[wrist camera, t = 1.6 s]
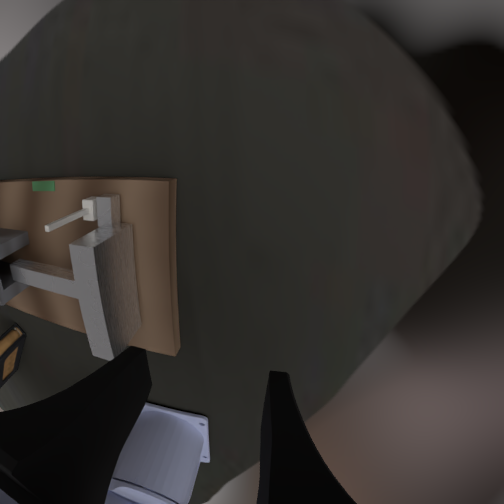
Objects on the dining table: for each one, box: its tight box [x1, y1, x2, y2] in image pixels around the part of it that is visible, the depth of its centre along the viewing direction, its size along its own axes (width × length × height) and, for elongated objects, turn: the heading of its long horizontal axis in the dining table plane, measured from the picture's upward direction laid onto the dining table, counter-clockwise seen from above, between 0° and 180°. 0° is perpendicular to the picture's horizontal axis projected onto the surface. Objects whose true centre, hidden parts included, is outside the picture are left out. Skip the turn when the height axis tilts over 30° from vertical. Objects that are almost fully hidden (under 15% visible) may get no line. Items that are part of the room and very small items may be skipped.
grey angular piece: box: [10, 194, 142, 361], centre depth 15 cm, size 10×9×4 cm
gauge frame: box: [0, 177, 181, 356], centre depth 16 cm, size 24×12×6 cm, turn 86°
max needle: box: [45, 197, 97, 232], centre depth 13 cm, size 1×1×5 cm
